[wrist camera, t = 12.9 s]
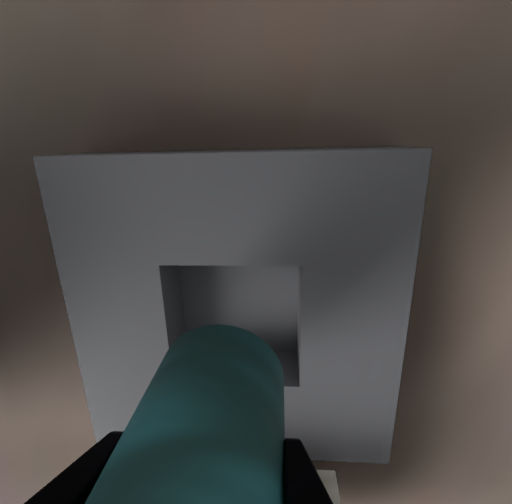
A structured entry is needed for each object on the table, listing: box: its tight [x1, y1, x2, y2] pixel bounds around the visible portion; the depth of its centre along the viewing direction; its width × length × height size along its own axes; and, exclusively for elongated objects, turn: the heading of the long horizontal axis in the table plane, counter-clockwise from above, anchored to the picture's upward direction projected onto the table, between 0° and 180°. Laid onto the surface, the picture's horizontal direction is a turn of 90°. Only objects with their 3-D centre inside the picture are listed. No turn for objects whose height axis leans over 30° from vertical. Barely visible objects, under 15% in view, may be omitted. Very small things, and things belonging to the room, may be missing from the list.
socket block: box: [32, 147, 432, 464], centre depth 15 cm, size 14×14×4 cm
